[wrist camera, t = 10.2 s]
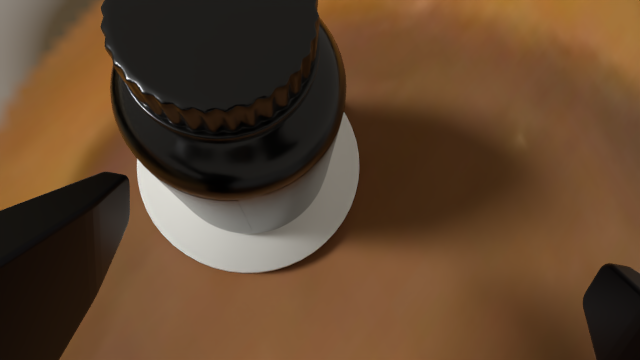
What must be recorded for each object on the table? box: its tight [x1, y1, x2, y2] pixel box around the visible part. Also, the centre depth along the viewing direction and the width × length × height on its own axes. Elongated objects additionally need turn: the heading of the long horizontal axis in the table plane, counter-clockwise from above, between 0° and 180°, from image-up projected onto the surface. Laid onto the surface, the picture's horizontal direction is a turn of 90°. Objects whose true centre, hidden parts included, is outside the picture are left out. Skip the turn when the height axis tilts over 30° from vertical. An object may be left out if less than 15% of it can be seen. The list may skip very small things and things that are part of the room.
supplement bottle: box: [101, 0, 346, 234], centre depth 17 cm, size 7×7×12 cm
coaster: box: [137, 113, 359, 273], centre depth 23 cm, size 10×10×1 cm
